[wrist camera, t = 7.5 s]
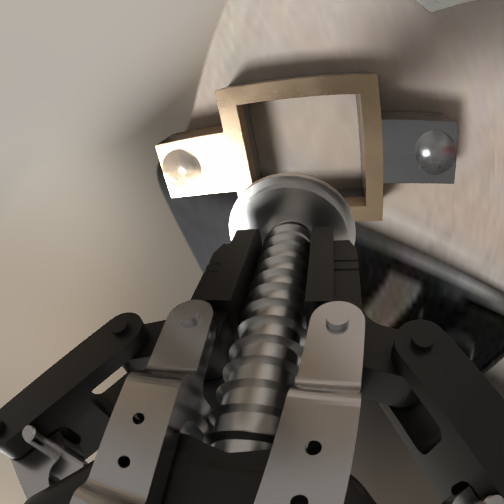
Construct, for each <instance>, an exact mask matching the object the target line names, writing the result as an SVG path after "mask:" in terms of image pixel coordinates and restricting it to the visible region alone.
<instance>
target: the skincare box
mask: <svg viewBox="0 0 504 504" xmlns="http://www.w3.org/2000/svg"><path fill="white" fill-rule="evenodd" d="M416 1H417V2H418V3H420V4H421V5H422V6H423V7H425V8H426V9H427V10H428V11H429V12H431V13H432V12H436V11H439V10H442V9H445V8H449V7H452V6H456V5H460V4H464V3H468V2H472V1H476V0H416Z"/></svg>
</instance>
